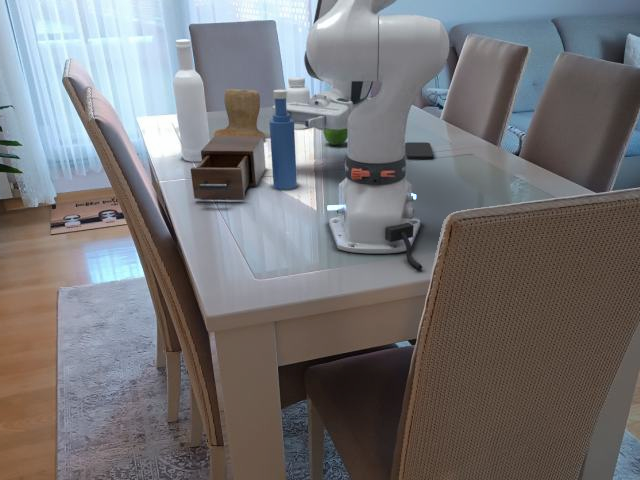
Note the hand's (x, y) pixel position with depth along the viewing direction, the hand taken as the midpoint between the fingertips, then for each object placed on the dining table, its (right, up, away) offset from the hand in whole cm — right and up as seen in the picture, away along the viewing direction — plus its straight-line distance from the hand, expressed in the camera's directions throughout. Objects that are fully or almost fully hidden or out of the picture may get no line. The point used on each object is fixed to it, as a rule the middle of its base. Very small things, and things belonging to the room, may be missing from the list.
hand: (291, 121), depth 151 cm
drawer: (-16, -17, -2) cm, 23 cm away
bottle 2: (-2, -14, +5) cm, 15 cm away
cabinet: (-15, -10, +11) cm, 21 cm away
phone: (+34, +2, +32) cm, 46 cm away
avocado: (+10, +7, +40) cm, 41 cm away
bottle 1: (-29, -1, +28) cm, 40 cm away
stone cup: (-20, +10, +45) cm, 50 cm away
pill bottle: (-3, +19, +61) cm, 64 cm away
